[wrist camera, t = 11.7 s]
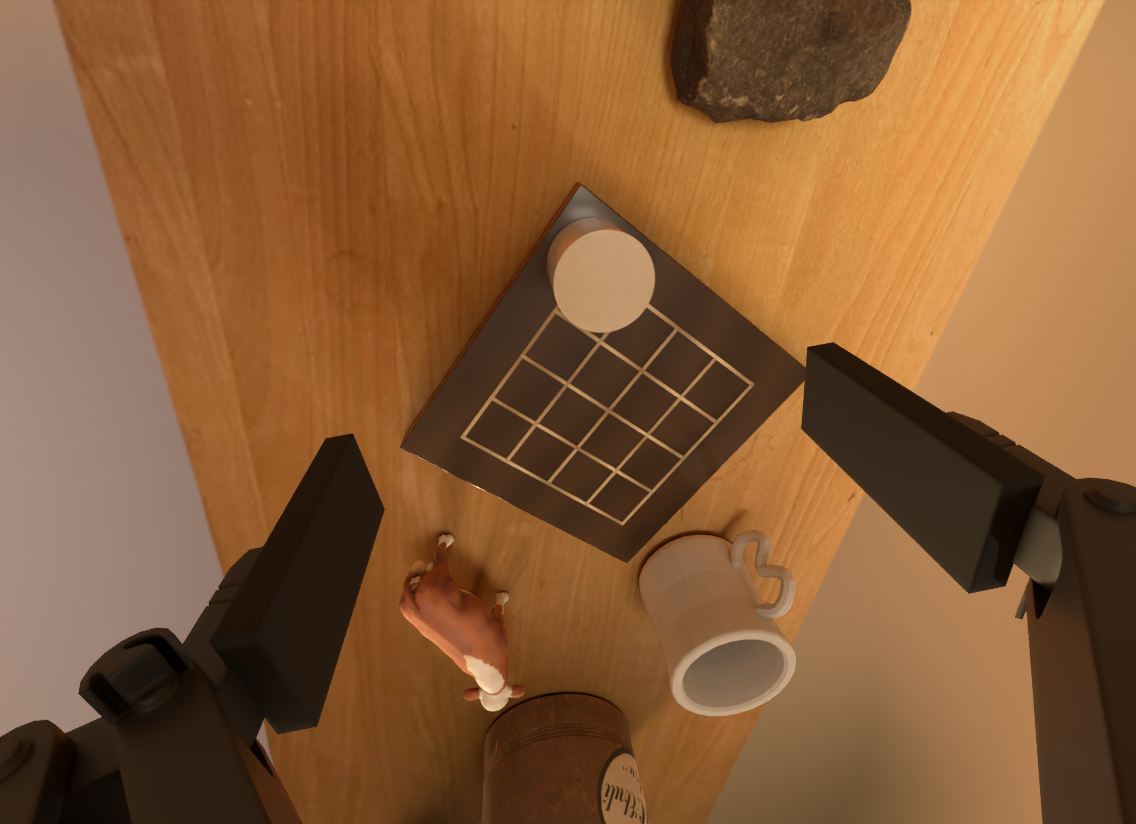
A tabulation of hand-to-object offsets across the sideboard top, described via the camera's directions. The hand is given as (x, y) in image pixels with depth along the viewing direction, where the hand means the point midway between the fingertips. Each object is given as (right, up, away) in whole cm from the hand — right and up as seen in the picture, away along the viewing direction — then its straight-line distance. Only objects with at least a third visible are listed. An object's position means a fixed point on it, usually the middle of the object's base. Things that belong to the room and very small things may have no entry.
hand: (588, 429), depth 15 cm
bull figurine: (-9, -13, +27) cm, 32 cm away
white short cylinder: (+1, +9, +15) cm, 18 cm away
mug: (+11, -12, +29) cm, 33 cm away
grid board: (+2, +1, +21) cm, 21 cm away
